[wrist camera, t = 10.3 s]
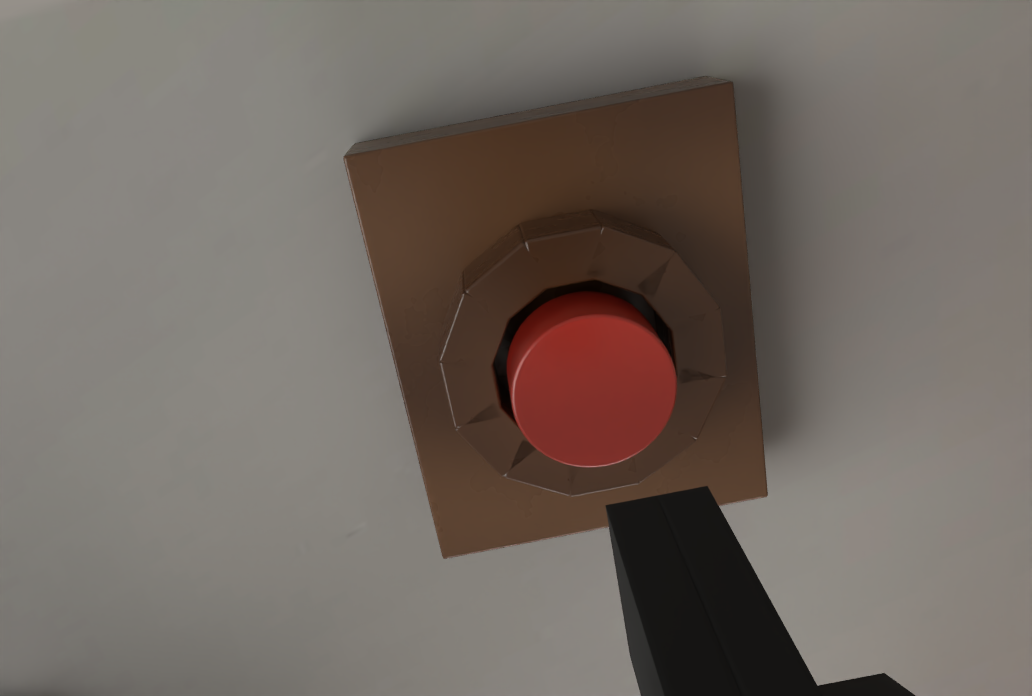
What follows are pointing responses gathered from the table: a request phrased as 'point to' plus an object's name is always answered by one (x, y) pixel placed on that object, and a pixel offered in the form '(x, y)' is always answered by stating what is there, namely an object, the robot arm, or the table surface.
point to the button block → (558, 271)
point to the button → (590, 380)
